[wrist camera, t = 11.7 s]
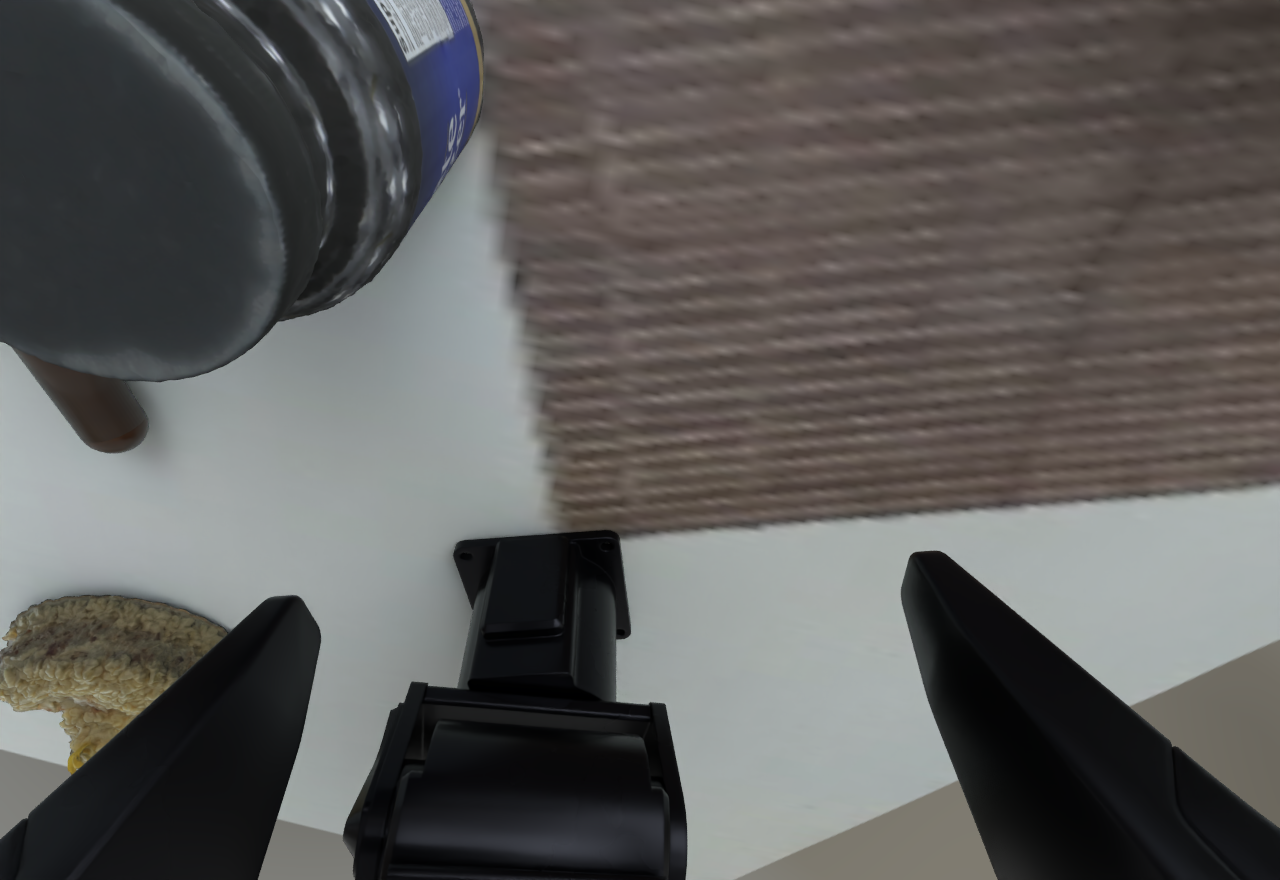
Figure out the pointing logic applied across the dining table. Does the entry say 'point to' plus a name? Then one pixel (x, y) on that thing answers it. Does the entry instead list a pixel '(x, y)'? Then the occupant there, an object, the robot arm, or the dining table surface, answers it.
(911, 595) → the robot arm
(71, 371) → the scoop
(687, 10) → the dining table surface
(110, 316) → the pill bottle
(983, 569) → the dining table surface
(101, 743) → the cake
